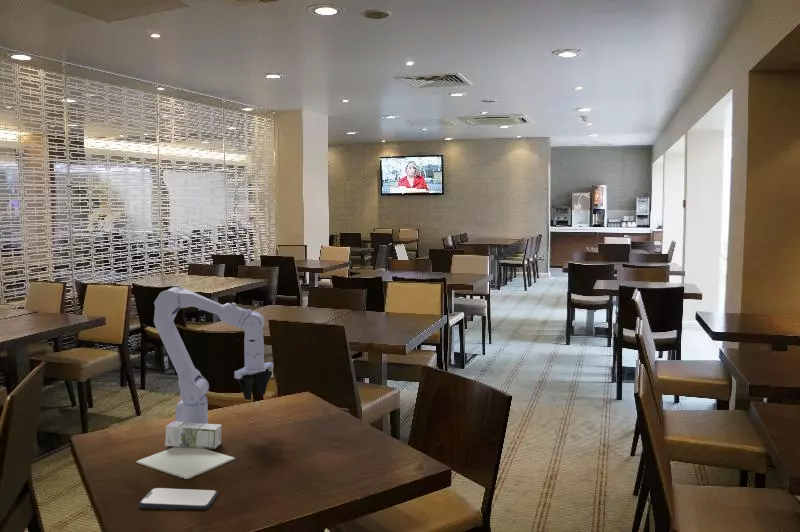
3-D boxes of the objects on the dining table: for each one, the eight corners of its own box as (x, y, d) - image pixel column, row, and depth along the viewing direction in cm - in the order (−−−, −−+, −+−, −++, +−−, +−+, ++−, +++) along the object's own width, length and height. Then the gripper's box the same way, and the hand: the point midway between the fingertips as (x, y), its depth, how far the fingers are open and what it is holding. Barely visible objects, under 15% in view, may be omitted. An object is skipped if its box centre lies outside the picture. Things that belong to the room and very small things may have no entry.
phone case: (219, 496, 159) (153, 493, 160) (219, 489, 159) (153, 486, 159) (207, 513, 150) (137, 510, 151) (207, 506, 150) (137, 503, 151)
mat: (136, 462, 177) (136, 461, 177) (184, 444, 191) (184, 443, 191) (187, 479, 167) (187, 477, 167) (234, 459, 180) (234, 457, 180)
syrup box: (222, 424, 192) (173, 420, 193) (215, 429, 186) (164, 426, 187) (221, 443, 192) (172, 440, 193) (214, 449, 186) (163, 446, 187)
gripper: (246, 359, 193) (246, 405, 194) (280, 350, 205) (281, 393, 206) (228, 356, 197) (229, 401, 198) (263, 347, 209) (264, 389, 210)
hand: (254, 396), depth 202 cm, fingers open, 5 cm apart
